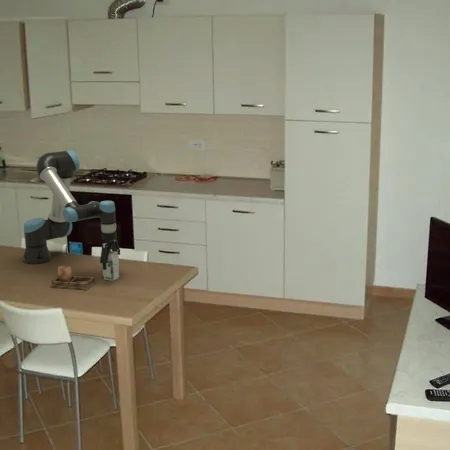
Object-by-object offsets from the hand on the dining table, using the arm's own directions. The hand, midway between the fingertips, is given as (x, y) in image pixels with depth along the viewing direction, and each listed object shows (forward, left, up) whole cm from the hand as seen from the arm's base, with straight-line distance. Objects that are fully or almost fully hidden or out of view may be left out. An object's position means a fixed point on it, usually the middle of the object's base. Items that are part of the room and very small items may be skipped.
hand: (111, 271), depth 359 cm
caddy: (+13, -15, -4) cm, 20 cm away
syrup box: (0, 0, -4) cm, 4 cm away
